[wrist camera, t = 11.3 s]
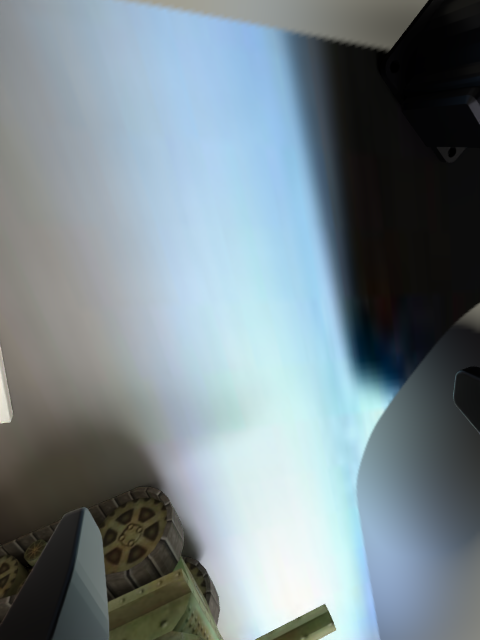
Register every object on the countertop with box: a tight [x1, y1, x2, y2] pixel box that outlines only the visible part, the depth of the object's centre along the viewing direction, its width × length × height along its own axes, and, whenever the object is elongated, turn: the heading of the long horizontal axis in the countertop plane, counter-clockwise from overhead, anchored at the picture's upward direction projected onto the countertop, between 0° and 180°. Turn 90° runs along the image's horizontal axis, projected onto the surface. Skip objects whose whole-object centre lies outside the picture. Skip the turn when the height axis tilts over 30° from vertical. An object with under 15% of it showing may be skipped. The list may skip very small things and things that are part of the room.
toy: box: [0, 487, 336, 640], centre depth 22 cm, size 10×18×10 cm, turn 104°
